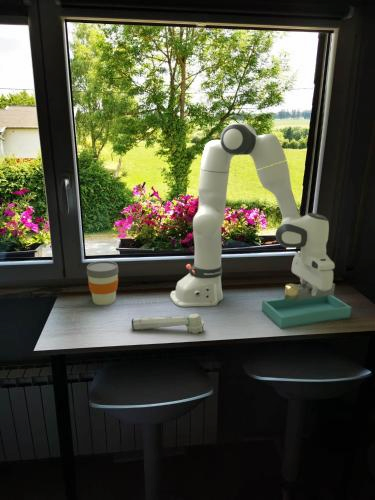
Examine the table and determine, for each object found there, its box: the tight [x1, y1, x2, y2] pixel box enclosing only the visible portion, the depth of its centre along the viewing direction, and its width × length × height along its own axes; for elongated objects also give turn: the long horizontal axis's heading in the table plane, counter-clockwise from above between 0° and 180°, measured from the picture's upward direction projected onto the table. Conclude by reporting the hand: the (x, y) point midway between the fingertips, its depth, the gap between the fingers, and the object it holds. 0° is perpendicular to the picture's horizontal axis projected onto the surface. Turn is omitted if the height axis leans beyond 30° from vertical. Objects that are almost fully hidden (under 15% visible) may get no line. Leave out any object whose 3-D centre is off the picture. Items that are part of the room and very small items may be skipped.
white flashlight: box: [131, 313, 205, 334], centre depth 129 cm, size 5×7×25 cm
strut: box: [283, 282, 336, 301], centre depth 138 cm, size 20×5×5 cm, turn 108°
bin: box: [261, 295, 352, 330], centre depth 141 cm, size 30×14×4 cm, turn 108°
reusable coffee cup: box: [86, 260, 120, 306], centre depth 149 cm, size 12×13×15 cm
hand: (308, 292), depth 139 cm, fingers closed on strut, 4 cm apart
